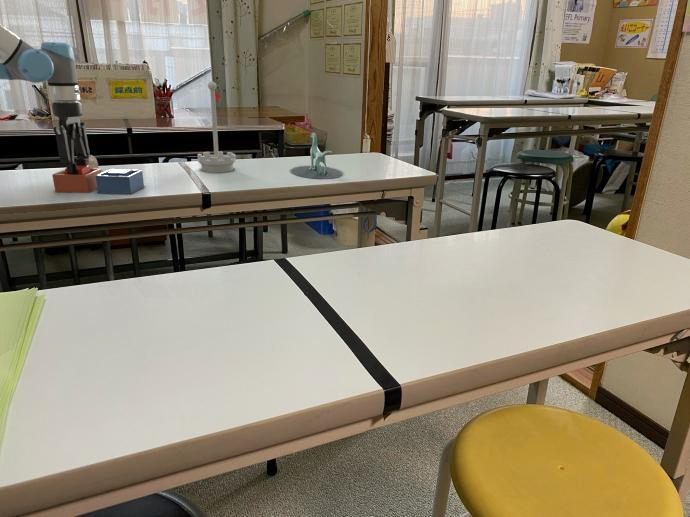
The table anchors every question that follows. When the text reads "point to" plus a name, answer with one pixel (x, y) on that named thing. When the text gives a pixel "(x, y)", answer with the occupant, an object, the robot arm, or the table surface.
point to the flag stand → (215, 143)
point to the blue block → (120, 172)
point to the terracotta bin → (75, 181)
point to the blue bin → (119, 182)
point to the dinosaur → (316, 165)
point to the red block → (82, 170)
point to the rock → (92, 162)
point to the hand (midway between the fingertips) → (79, 182)
